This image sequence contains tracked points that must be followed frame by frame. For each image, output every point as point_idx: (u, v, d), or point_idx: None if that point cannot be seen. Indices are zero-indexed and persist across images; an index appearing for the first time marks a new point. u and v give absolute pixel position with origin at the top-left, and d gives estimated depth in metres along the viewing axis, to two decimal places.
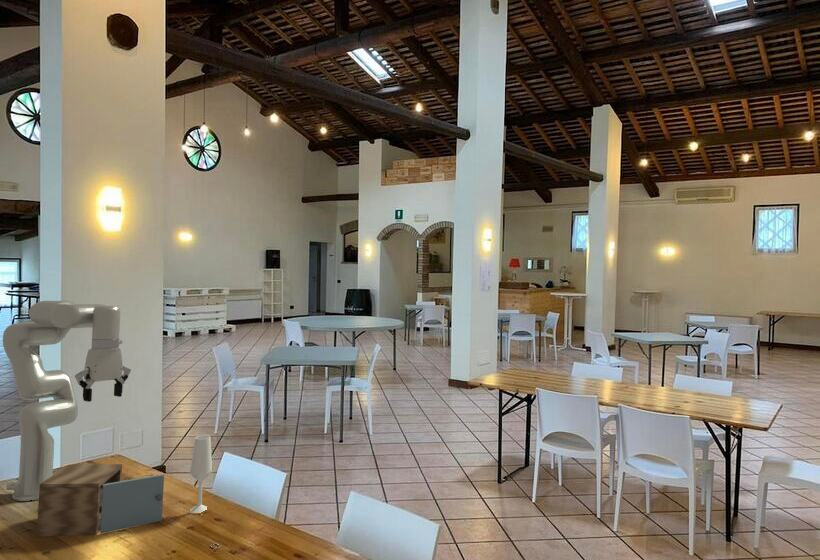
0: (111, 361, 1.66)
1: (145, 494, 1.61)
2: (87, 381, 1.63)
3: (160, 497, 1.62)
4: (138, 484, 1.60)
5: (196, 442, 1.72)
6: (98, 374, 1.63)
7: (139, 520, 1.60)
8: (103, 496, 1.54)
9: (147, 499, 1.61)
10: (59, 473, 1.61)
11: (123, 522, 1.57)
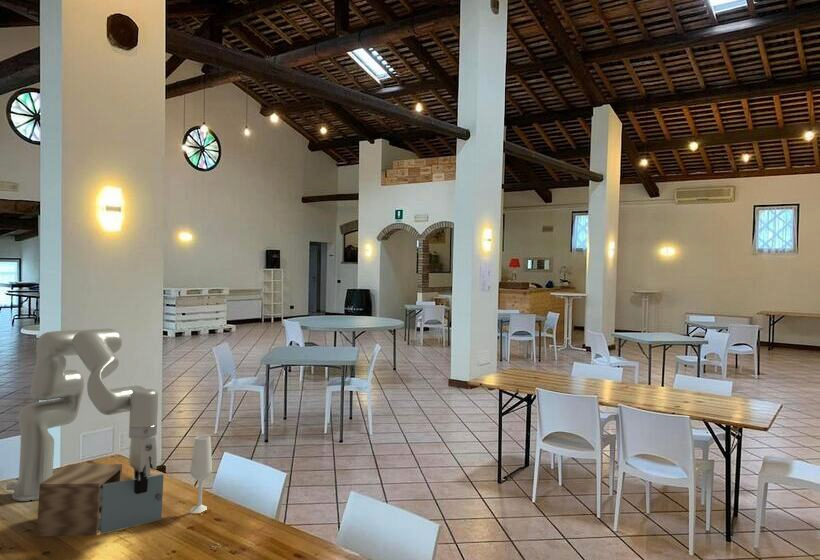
0: (134, 450, 1.56)
1: (145, 493, 1.61)
2: None
3: (160, 496, 1.63)
4: None
5: (196, 442, 1.72)
6: (130, 459, 1.59)
7: (139, 519, 1.60)
8: (103, 496, 1.54)
9: (147, 498, 1.62)
10: (59, 473, 1.61)
11: (123, 522, 1.57)
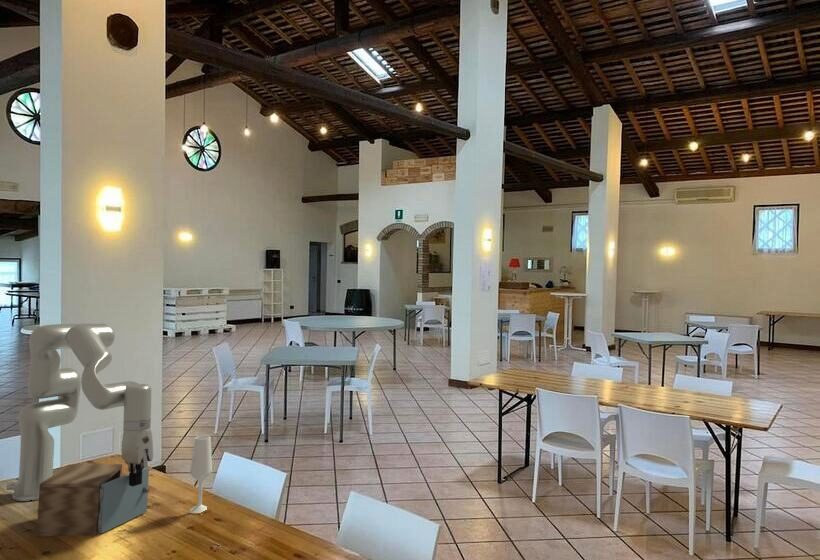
0: (129, 444, 1.60)
1: (135, 488, 1.65)
2: None
3: (148, 489, 1.68)
4: None
5: (196, 442, 1.72)
6: (123, 453, 1.62)
7: (130, 514, 1.63)
8: (104, 495, 1.54)
9: (136, 493, 1.65)
10: (59, 473, 1.61)
11: (118, 518, 1.59)
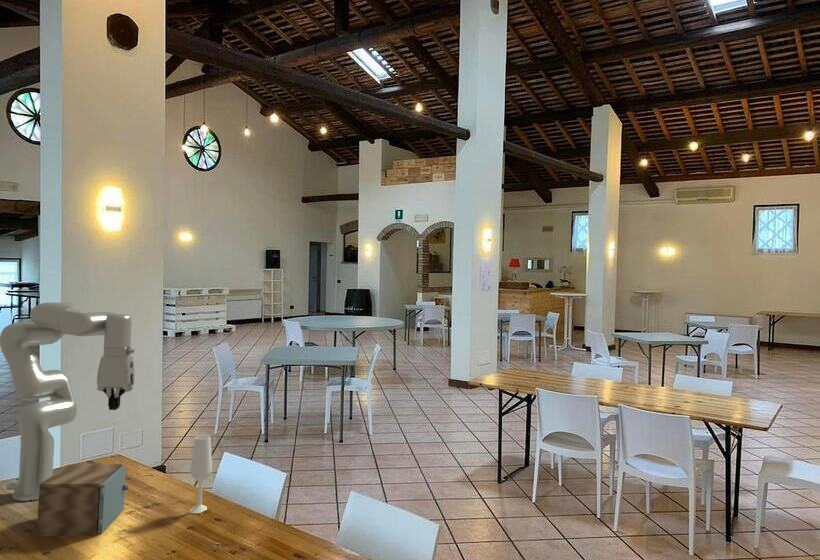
0: (114, 369, 1.68)
1: (119, 487, 1.66)
2: (111, 389, 1.71)
3: (127, 486, 1.70)
4: (117, 478, 1.64)
5: (196, 442, 1.72)
6: (102, 380, 1.68)
7: (116, 513, 1.64)
8: (104, 495, 1.55)
9: (119, 491, 1.66)
10: (59, 473, 1.61)
11: (110, 517, 1.60)
